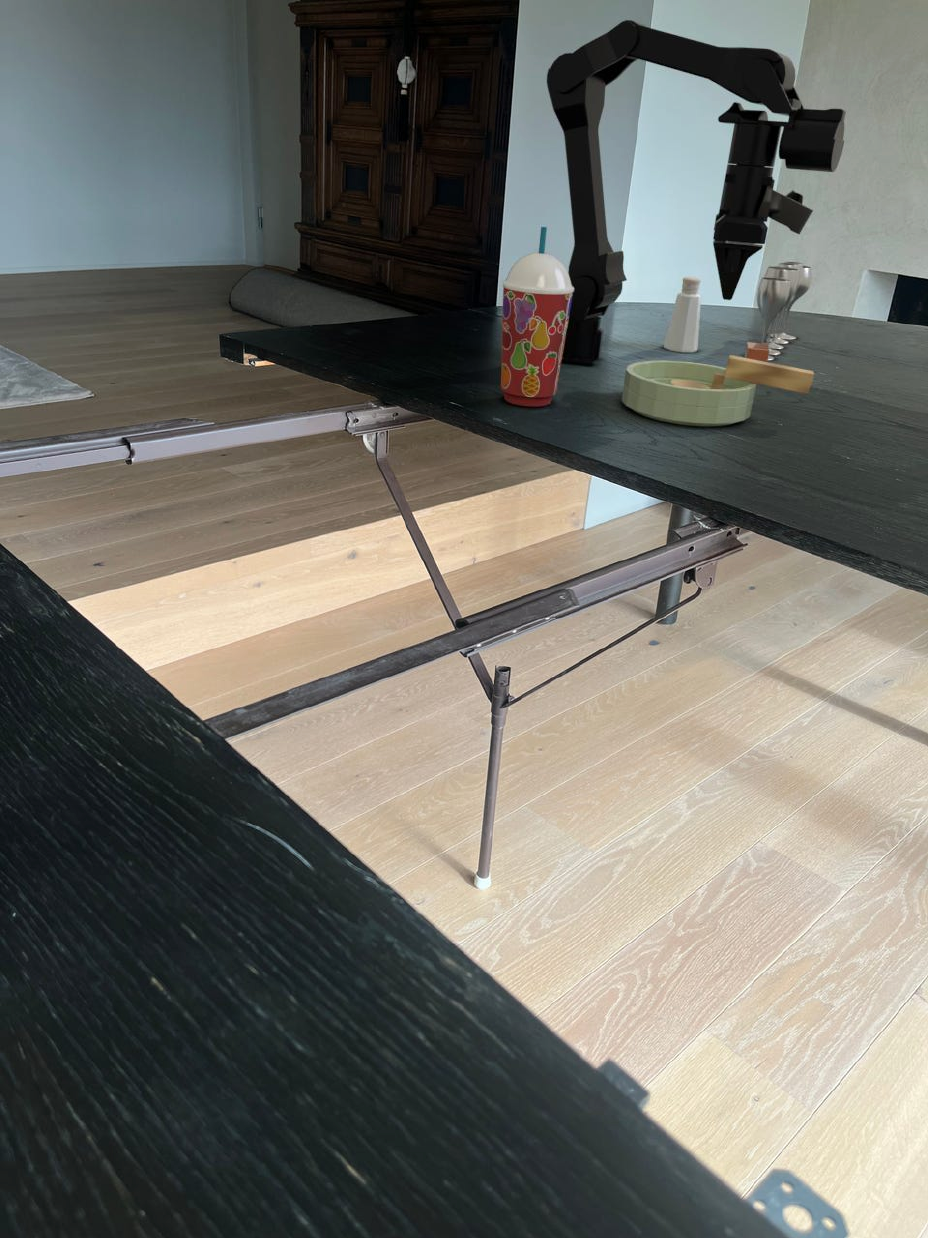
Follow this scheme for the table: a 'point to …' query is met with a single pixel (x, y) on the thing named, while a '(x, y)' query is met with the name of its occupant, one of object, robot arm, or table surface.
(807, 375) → the wooden z bracket
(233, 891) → the table surface
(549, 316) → the smoothie
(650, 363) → the bowl
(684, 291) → the salt shaker
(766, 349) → the orange upright block
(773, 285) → the goblet set
